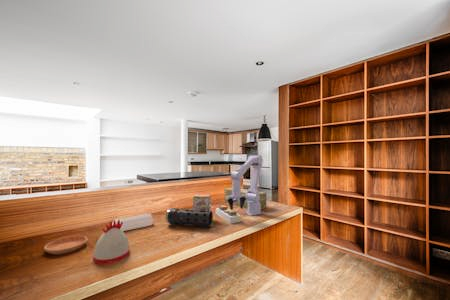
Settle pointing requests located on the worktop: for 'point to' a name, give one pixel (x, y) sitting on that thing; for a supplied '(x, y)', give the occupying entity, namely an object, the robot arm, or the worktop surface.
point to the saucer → (65, 245)
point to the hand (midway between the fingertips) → (236, 208)
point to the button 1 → (223, 207)
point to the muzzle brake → (189, 217)
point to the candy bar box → (201, 202)
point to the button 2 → (232, 213)
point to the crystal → (135, 221)
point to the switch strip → (228, 216)
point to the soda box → (237, 201)
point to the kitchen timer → (111, 245)
